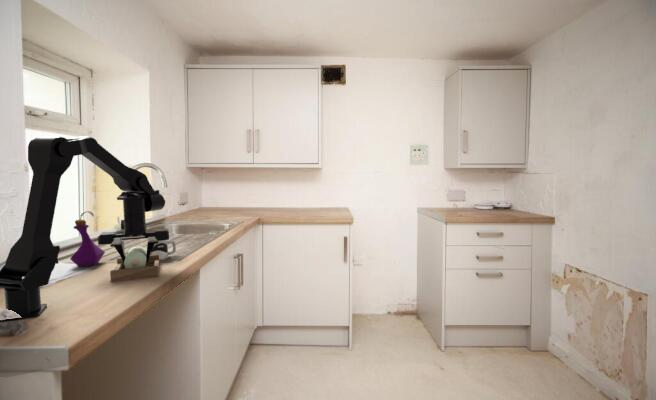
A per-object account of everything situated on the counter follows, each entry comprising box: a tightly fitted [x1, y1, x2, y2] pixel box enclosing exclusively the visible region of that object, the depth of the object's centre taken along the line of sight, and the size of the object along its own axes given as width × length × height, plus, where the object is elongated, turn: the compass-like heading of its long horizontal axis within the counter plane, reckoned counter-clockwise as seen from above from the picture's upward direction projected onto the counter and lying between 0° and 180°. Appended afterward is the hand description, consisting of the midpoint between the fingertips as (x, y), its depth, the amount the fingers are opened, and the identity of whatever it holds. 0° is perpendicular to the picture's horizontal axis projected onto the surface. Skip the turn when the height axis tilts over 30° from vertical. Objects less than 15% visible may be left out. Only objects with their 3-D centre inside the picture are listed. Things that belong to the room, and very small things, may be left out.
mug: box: [146, 240, 177, 262], centre depth 121 cm, size 10×7×7 cm, turn 141°
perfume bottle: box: [69, 210, 106, 267], centre depth 111 cm, size 8×8×18 cm
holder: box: [109, 254, 160, 283], centre depth 105 cm, size 16×12×3 cm
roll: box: [124, 245, 147, 269], centre depth 105 cm, size 10×6×6 cm, turn 26°
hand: (136, 263), depth 105 cm, fingers closed on roll, 5 cm apart
